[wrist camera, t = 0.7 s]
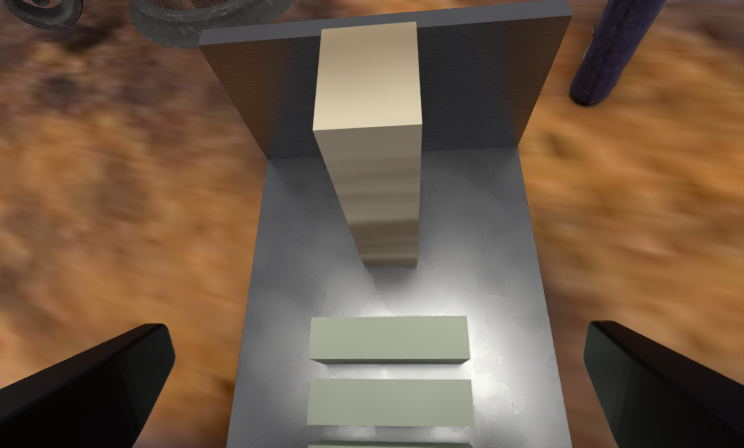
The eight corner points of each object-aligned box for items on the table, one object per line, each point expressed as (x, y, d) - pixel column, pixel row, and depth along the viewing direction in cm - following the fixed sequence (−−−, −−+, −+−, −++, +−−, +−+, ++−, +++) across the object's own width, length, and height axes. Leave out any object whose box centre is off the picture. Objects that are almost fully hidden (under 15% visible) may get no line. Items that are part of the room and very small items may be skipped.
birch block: (417, 264, 21) (422, 124, 10) (363, 265, 21) (312, 130, 10) (414, 200, 23) (416, 21, 12) (364, 202, 23) (321, 29, 12)
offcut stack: (473, 490, 17) (484, 509, 14) (316, 485, 17) (298, 502, 15) (459, 326, 19) (466, 315, 17) (325, 327, 20) (311, 317, 17)
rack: (587, 577, 16) (821, 820, 7) (219, 559, 17) (6, 738, 8) (511, 143, 25) (567, -2, 16) (274, 155, 26) (202, 29, 17)
